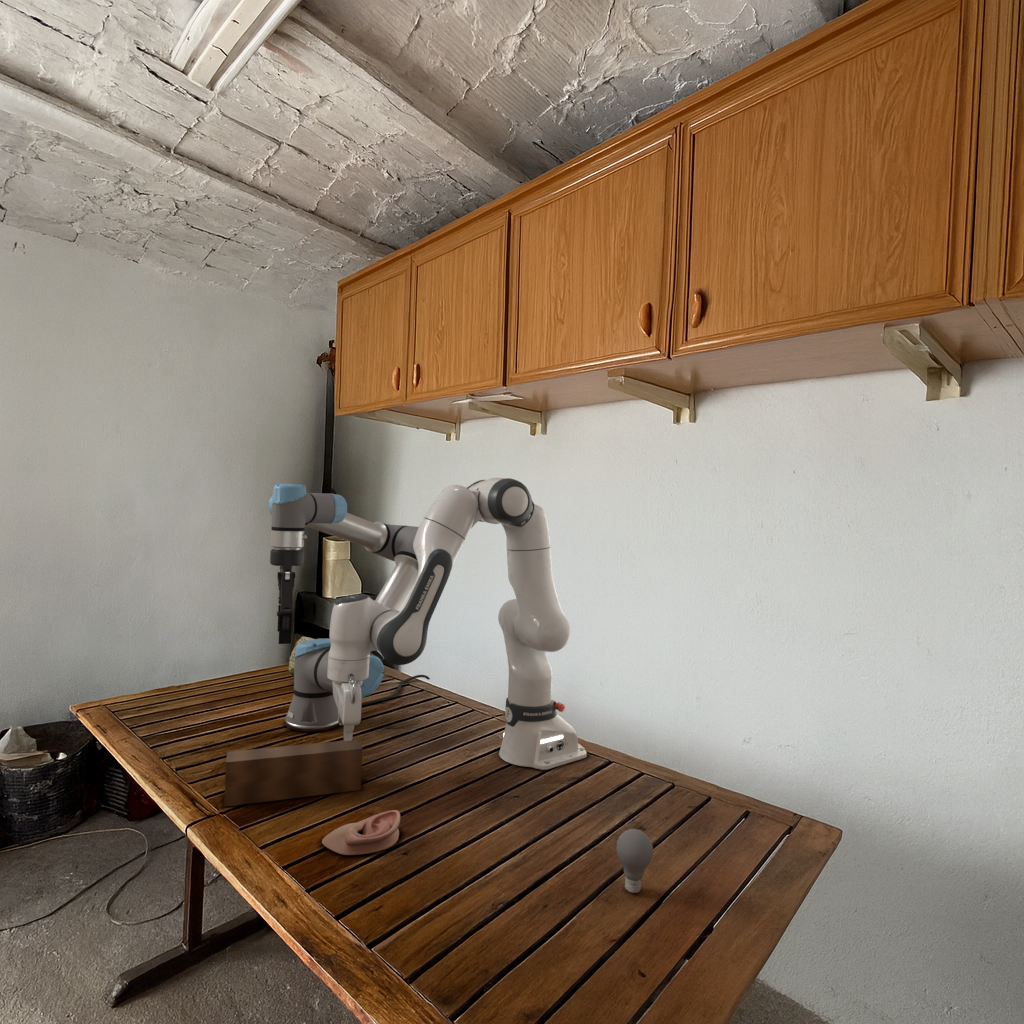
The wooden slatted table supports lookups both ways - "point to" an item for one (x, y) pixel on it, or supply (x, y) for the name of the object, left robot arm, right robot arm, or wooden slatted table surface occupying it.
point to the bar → (292, 772)
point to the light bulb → (634, 857)
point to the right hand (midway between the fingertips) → (344, 731)
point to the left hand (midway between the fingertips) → (284, 637)
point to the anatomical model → (365, 835)
